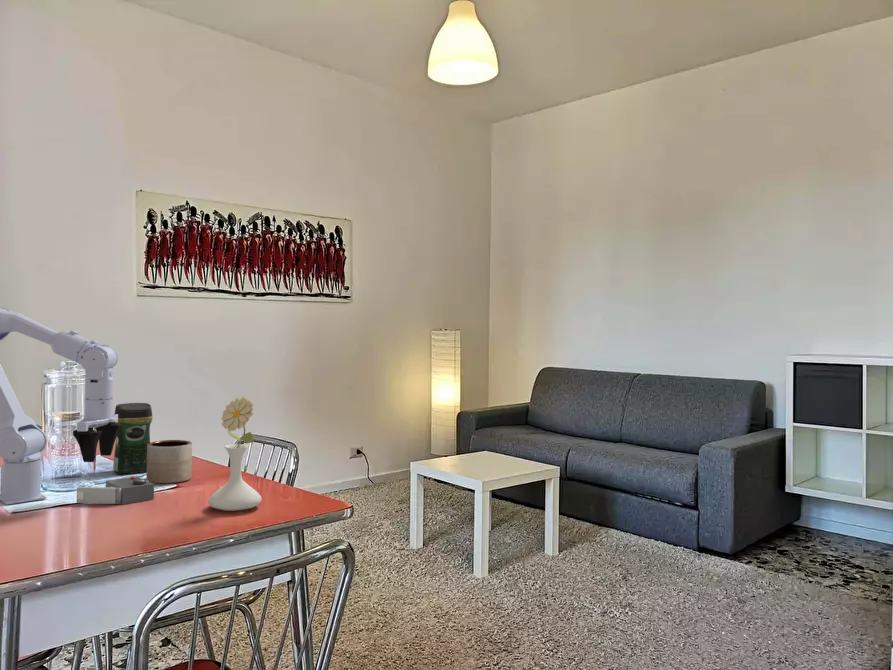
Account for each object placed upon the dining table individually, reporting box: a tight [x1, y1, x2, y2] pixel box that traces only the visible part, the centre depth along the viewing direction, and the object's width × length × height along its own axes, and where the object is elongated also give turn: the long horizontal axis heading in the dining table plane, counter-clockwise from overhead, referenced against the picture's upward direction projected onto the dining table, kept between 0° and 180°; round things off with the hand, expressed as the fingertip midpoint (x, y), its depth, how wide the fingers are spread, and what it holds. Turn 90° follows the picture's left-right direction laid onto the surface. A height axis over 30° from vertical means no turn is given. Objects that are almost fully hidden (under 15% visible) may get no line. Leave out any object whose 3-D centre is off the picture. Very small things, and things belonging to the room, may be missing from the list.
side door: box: [76, 486, 121, 505], centre depth 153 cm, size 10×1×3 cm, turn 91°
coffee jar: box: [112, 402, 153, 475], centre depth 187 cm, size 10×8×19 cm
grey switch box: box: [105, 476, 155, 505], centre depth 160 cm, size 10×7×4 cm
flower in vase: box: [207, 396, 263, 512], centre depth 152 cm, size 13×11×25 cm
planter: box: [146, 439, 193, 485], centre depth 178 cm, size 11×11×10 cm
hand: (97, 458), depth 157 cm, fingers open, 7 cm apart
